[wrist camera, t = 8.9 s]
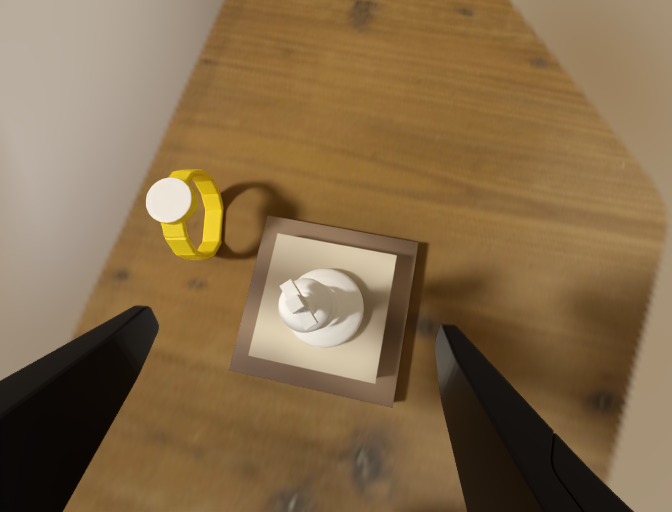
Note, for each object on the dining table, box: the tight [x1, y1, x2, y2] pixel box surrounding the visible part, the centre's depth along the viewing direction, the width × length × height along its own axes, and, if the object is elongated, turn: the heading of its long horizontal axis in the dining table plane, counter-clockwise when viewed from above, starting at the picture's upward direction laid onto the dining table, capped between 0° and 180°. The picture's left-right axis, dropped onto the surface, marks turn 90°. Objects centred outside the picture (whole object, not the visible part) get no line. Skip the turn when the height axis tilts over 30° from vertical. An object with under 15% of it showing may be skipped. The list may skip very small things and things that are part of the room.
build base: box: [229, 215, 418, 408], centre depth 20 cm, size 11×11×2 cm
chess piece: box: [278, 269, 364, 348], centre depth 14 cm, size 5×5×10 cm
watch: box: [146, 169, 224, 260], centre depth 20 cm, size 6×3×6 cm, turn 0°
